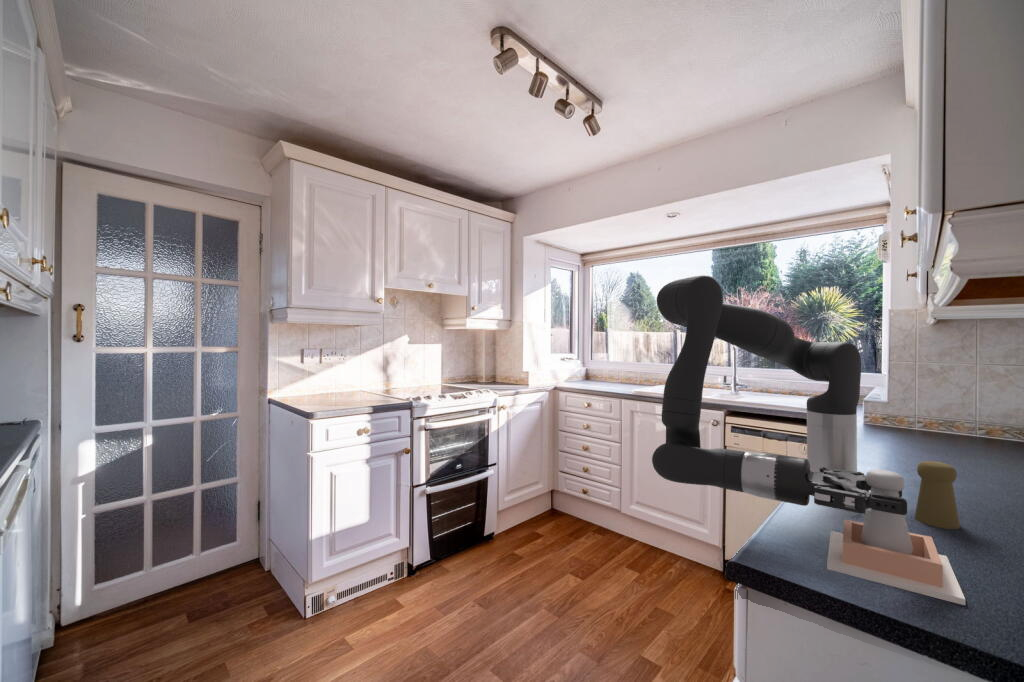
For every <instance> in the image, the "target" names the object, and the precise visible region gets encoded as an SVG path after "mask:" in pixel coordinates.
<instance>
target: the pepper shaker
mask: <svg viewBox="0 0 1024 682" xmlns="http://www.w3.org/2000/svg"><path fill="white" fill-rule="evenodd" d="M916 469H917V470H916V471H917V474H918V476H919V477H920V478H921V480H920V484H919V489H918V490H919V491H918V496H917V500H916V501H917V503H916V508H915V513H914V520H915V521H917V522H918V523H919V522H920V523H921V524H924V525H927V526H930V527H935V528H940V529H945V530H946V529H947V530H959V529H961V524H960V518H959V514H958V512H959V511H958V507H957V506H958V505H957V501H956V498H955V497H956V495H955V490H954V485H953V483H954V482H956V481H957V480H956V479H957V477H958V476H957V474H958V473H957V471H956V469H955V467H954V466H952V465H950V464H948V463H945V462H941V461H934V460H924V461H923V460H922V461H920V462H919V463H918V465H917V468H916Z"/></svg>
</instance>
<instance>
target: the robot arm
mask: <svg viewBox="0 0 1024 682" xmlns="http://www.w3.org/2000/svg"><path fill="white" fill-rule="evenodd" d="M656 306H657V309H658V311H659V313H660V315H661V316H662V317H663V318H664V319H665V320H666V321H667V322H669V323H671V324H673V325H677V326H681V327H684V328H686V330H685V331H686V332H685V338H684V342H683V345H682V346H681V347H682V348H681V349H680V352H679V354H678V356H677V358H676V360H675V362H674V364H673V365H672V367H671V369H670V371H669V373H668V375H667V378H666V380H665V384H664V387H663V388H664V389H663V394H662V395H663V396H662V404H661V406H662V407H661V422H662V424H663V426H665V443H663V444H660V445H659V446H658V447H657V448H656V449H655V450H654V452H653V453H652V455H651V456H652V457H651V462H652V466H653V469H654V470H655V472H656V473H657V474H658V476H660V477H661V478H662V479H665V480H667V481H670V482H675V483H679V484H685V485H687V484H688V485H698V486H712V487H717V488H720V489H724V490H727V491H728V490H730V491H733V492H734V491H735V492H738V493H739V492H741V493H745V494H748V495H752V496H754V497H759V498H762V499H768V500H773V501H777V502H783V503H787V504H788V503H789V504H791V505H792V504H794V505H799V506H803V507H806V506H809V503H810V498H811V497H813V502H814V503H813V504H815V505H818V506H823V507H827V508H828V507H829V508H833V509H838V510H842V511H847V512H851V513H852V512H853V513H857V514H860V515H863V514H865V515H866V511H871V508H872V510H878V511H883V512H888V513H894V514H899V515H904V516H906V515H907V514H908V501H907V500H906V499H905V498H904V497H903V490H902V491H898V493H899V497H894V496H888V495H882V494H876V493H872V496H871V493H870V491H871V487H872V486H869V485H868V484H867V482H866V475H865V473H864V472H861V471H858V427H857V426H858V423H857V422H858V420H857V417H858V416H857V411H858V409H857V408H858V406H859V405H858V404H859V402H860V397H861V395H860V393H861V379H862V358H861V353H860V351H859V349H858V347H857V346H856V344H854V343H852V342H847V341H810V340H805V339H803V338H802V339H801V338H799V337H796V335H795V332H794V329H793V327H792V326H791V325H790V324H789V323H788V322H787V321H786V320H785V319H782V318H781V317H780V316H776V315H774V314H772V313H770V312H768V311H766V310H763V309H760V308H756V307H752V306H751V307H750V306H745V305H739V304H734V303H733V304H732V303H727V302H726V303H725V302H724V295H723V290H722V287H721V285H720V282H718V281H717V280H716V278H715V277H713V276H710V275H705V274H702V275H701V274H699V275H695V276H690V277H689V276H688V277H685V278H681V279H676V280H673V281H671V282H668V283H666V284H665V285H664V286H662V288H661V289H660V290H659V292H658V293H657V296H656ZM715 338H717V339H719V340H721V341H723V342H726V343H727V344H730V345H732V346H735V347H736V348H739V349H741V350H744V351H745V352H748V353H751V354H753V355H756V356H758V357H761V358H764V359H767V360H769V361H771V362H775V363H778V364H780V365H783V366H785V367H787V368H788V369H790V370H792V371H793V372H795V373H797V374H798V375H801V376H802V377H804V378H806V379H808V380H811V381H815V382H826V383H828V387H827V390H826V391H825V392H823V393H821V394H819V395H815V396H810V397H808V398H807V400H806V458H803V457H797V456H791V455H789V456H788V455H782V454H775V453H769V452H761V451H760V452H759V451H758V452H757V451H744V450H743V451H742V450H735V449H729V448H728V449H727V448H709V449H708V448H703V447H701V433H700V420H701V414H702V413H701V412H702V401H703V389H704V383H705V376H706V372H707V368H708V363H709V360H710V358H711V357H710V356H711V353H712V349H713V345H714V342H715Z"/></svg>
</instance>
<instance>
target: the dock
mask: <svg viewBox="0 0 1024 682" xmlns="http://www.w3.org/2000/svg"><path fill="white" fill-rule="evenodd" d="M863 525H864V522H859V521H854V520H849V519H843V530H842V531H843V532H837V531H833V530H830V537H829V546H828V552H827V553H828V554H827V560H826V569H827V570H829V571H833V572H836V573H841V574H845V575H848V576H852V577H856V578H860V579H863V580H867V581H870V582H873V583H874V582H875V583H878V584H883V585H886V586H890V587H894V588H897V589H901V590H905V591H909V592H912V593H917V594H920V595H924V596H928V597H930V598H935V599H939V600H943V601H947V602H951V603H954V604H958V605H962V606H966V598H965V595H964V593H963V591H962V588H961V586H960V584H959V582H958V579H957V577H956V575H955V573H954V572H955V571H954V570H953V568H952V565H951V563H950V561H949V558H948V556H947V555H944V554H939V553H938V551H937V550H938V549H937V547H936V545H935V543H934V539H933V537H932V536H929V535H925V534H924V535H923V534H920V533H919V534H918V533H914V532H909V535H910V538H911V542H912V546H913V552H912V554H911V555H909V554H904V553H900V552H895V551H891V550H887V549H882V548H878V547H873V546H869V545H865V544H863V543H862V540H861V534H862V529H863Z"/></svg>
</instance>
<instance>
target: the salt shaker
mask: <svg viewBox="0 0 1024 682" xmlns="http://www.w3.org/2000/svg"><path fill="white" fill-rule="evenodd" d="M866 482H867V484H868V485H869V486H872V487H871V490H869V492H870V493H871V496H872V493H876V494H882V495H888V496H894V497H899V493H898V491H902V492H903V490H904V489H905V479H904V477H903V476H902V475H901V474H900V473H897V472H894V471H891V470H887V469H870V470H868V472H866ZM863 523H864V525H863V529H862V534H861V540H862V543H863V544H865V545H869V546H873V547H878V548H882V549H887V550H891V551H895V552H900V553H904V554H909V555H911V554H912V552H913V546H912V542H911V538H910V535H909V533H910V531H909V527H908V523H907V521H906V515H899V514H894V513H888V512H883V511H878V510H872V508H871V511H866V513H865V515H864V520H863Z"/></svg>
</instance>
